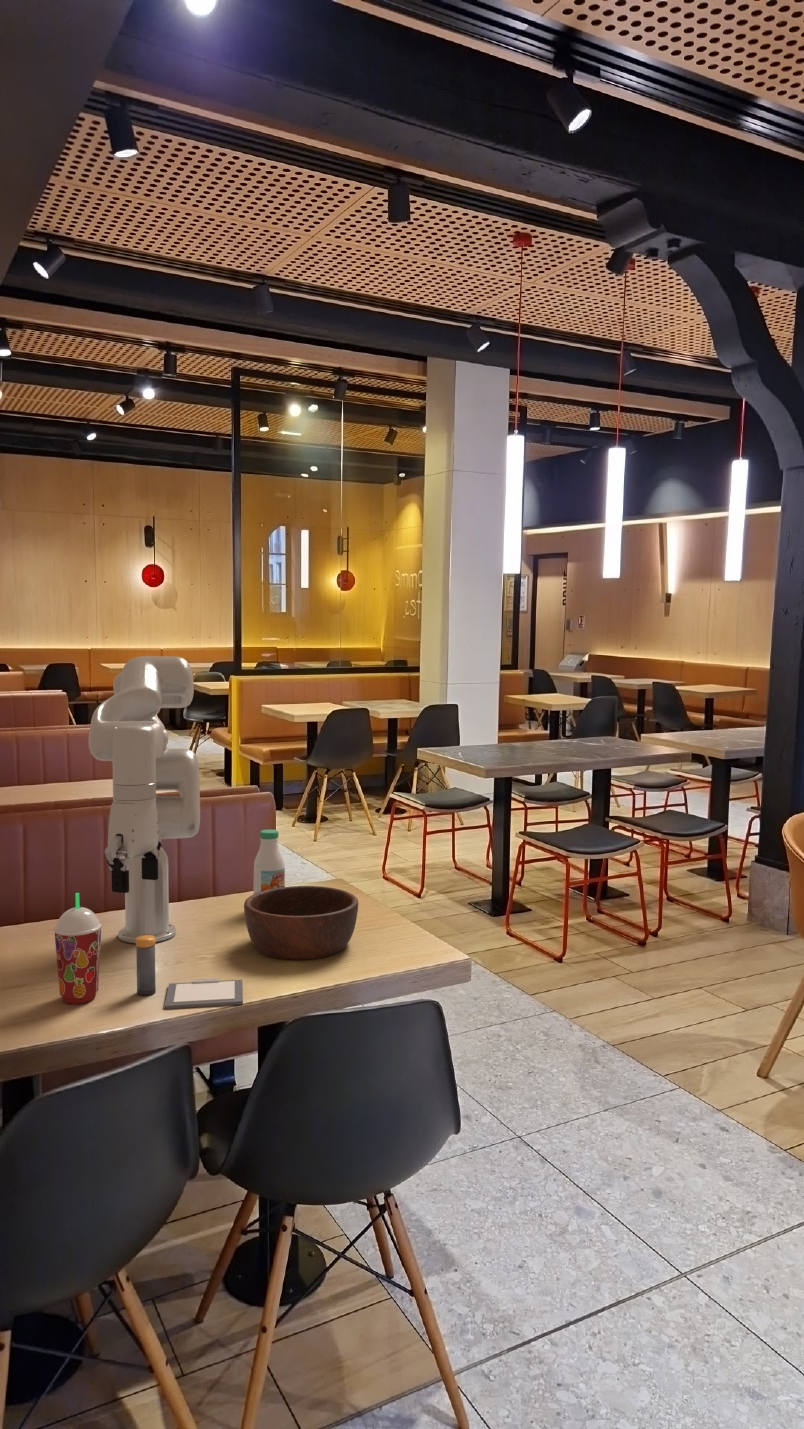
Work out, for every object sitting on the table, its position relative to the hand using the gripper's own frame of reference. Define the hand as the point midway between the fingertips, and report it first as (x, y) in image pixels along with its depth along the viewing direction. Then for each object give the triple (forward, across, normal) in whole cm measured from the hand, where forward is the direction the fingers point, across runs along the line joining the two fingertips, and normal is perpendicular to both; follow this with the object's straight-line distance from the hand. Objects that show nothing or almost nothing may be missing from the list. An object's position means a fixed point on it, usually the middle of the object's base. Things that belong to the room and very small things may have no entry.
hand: (135, 885), depth 167 cm
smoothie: (+22, +1, -11) cm, 25 cm away
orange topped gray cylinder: (+22, -5, -1) cm, 22 cm away
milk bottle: (+21, -62, -1) cm, 65 cm away
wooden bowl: (+22, -39, +17) cm, 48 cm away
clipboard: (+22, -7, +10) cm, 25 cm away
